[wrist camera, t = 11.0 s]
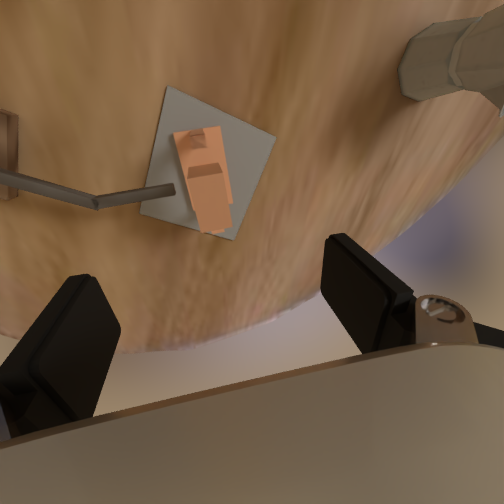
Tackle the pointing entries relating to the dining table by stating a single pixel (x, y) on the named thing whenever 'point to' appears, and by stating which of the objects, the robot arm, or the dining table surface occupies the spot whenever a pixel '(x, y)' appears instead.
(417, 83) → the coffee maker
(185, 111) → the mat
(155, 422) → the robot arm
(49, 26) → the dining table surface
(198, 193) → the orange block
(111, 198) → the stand
